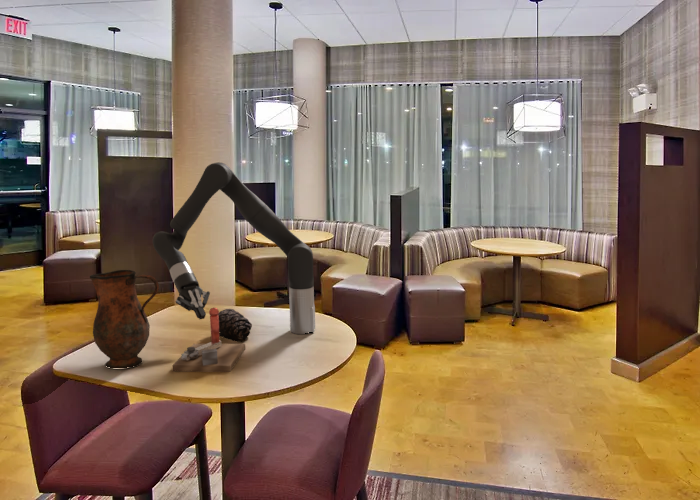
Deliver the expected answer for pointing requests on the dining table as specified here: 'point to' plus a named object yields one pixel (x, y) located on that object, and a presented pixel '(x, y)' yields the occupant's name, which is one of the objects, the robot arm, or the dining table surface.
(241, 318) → the pine cone
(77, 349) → the dining table surface
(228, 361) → the base
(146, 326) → the pitcher
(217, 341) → the lever
